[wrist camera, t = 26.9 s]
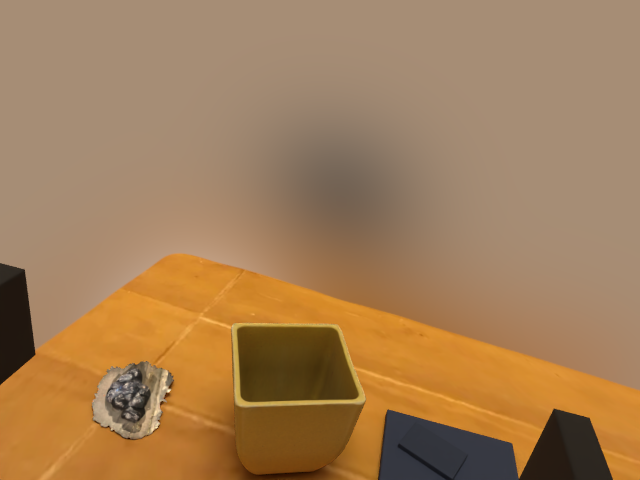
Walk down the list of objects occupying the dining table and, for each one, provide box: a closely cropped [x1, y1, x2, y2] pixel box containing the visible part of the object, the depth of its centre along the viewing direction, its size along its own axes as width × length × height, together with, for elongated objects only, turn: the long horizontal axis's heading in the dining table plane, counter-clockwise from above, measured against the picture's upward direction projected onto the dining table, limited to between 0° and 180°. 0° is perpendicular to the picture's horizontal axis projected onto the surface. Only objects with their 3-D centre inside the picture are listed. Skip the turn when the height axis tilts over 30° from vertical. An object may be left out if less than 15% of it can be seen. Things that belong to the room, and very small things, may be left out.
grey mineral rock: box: [92, 361, 174, 439], centre depth 41 cm, size 7×8×2 cm
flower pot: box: [231, 323, 366, 475], centre depth 38 cm, size 9×9×9 cm
